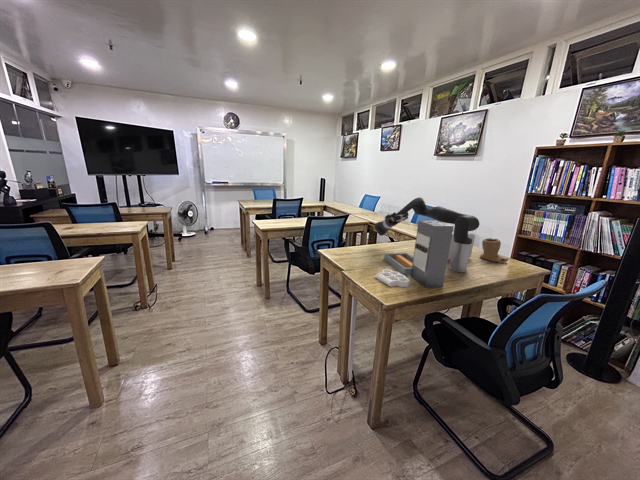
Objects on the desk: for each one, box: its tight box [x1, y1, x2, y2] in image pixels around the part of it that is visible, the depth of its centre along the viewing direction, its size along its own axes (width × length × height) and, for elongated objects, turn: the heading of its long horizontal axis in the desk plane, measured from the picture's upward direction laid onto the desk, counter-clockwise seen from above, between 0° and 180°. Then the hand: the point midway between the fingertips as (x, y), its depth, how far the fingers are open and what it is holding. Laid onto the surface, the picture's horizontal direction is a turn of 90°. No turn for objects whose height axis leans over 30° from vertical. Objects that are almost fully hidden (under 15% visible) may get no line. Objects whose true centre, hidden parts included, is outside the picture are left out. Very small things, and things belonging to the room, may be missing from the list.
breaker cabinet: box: [410, 219, 455, 289], centre depth 130 cm, size 14×11×32 cm
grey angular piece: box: [448, 231, 476, 261], centre depth 172 cm, size 29×8×18 cm, turn 103°
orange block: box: [395, 255, 413, 268], centre depth 156 cm, size 20×3×3 cm, turn 10°
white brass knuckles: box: [374, 268, 410, 288], centre depth 134 cm, size 3×18×15 cm
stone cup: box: [479, 237, 509, 264], centre depth 170 cm, size 15×12×15 cm
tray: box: [383, 252, 414, 276], centre depth 155 cm, size 27×16×4 cm, turn 10°
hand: (401, 213), depth 159 cm, fingers open, 8 cm apart
